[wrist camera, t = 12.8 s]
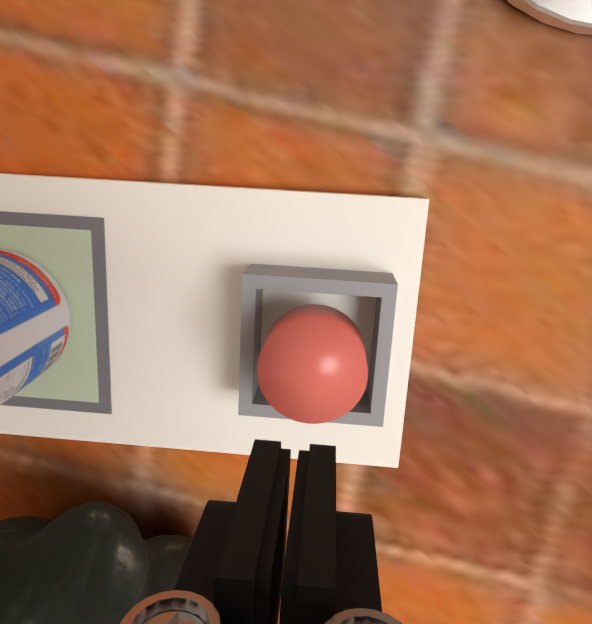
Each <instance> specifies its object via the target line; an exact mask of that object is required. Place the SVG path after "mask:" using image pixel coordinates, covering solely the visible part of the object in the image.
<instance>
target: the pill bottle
mask: <svg viewBox="0 0 592 624" xmlns="http://www.w3.org/2000/svg"><path fill="white" fill-rule="evenodd" d="M70 326H71V320H70V311H69V306H68V303H67V300H66V297H65V295H64V293H63V291H62V289H61V287H60V286H59V284H58V282H57V281H56V280H55V279H54V277H53V276H52V275H51V274H50V273H49V272H48V271H47V270H46V269H45V268H43V267H42V266H41V265H40V264H38V263H37V262H35V261H34V260H32V259H30V258H28V257H26V256H24V255H22V254H19V253H17V252H13V251H9V250H3V249H0V405H1V404H3V403H4V402H5V401H7V400H8V399H9V398H11V397H12V396H13V395H15V394H16V393H17V392H19V391H20V390H21V389H23V388H24V387H25V386H27V385H28V384H29V383H31V382H32V381H34V380H35V379H36V378H37V377H39V376H40V375H41V374H42V373H44V372H45V371H46V370H47V369H48V368H49V367H51V366H52V365H53V364H54V363H55V362H56V361H57V359H58V358H59V357H60V355H61V354H62V352H63V350H64V348H65V346H66V344H67V341H68V338H69V334H70Z"/></svg>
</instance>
